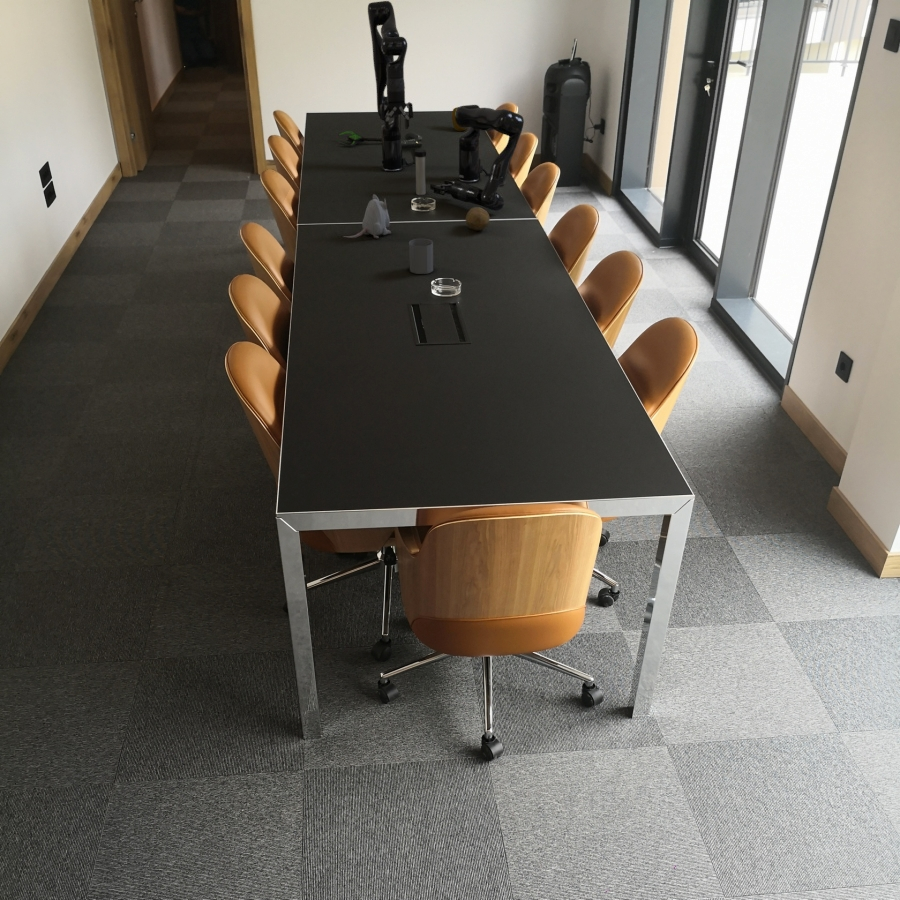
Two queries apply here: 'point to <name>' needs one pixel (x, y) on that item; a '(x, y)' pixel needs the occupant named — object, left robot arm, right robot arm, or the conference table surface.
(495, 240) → the conference table surface
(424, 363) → the conference table surface
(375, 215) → the toy
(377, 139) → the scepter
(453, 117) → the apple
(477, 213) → the potato
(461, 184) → the right robot arm
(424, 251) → the cup
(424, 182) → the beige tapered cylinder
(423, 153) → the lid
